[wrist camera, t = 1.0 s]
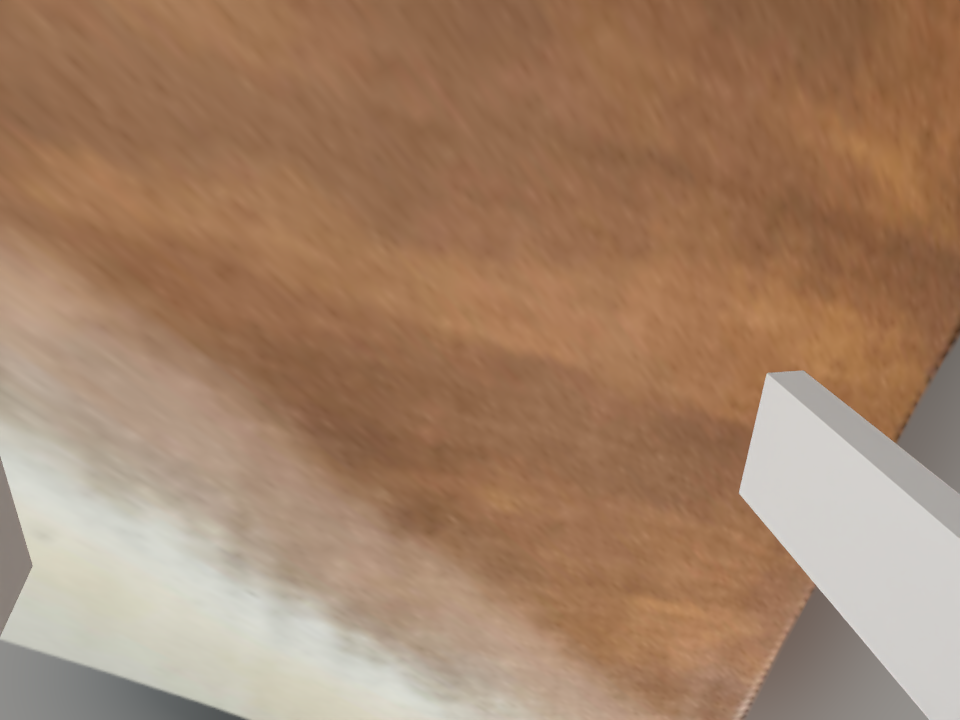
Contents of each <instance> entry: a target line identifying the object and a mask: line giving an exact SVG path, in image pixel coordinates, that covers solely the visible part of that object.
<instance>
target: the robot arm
mask: <svg viewBox="0 0 960 720" xmlns="http://www.w3.org/2000/svg"><path fill="white" fill-rule="evenodd" d="M739 494H740V495H741V496H742V497H743V499H744V500H745V501H746V502H747V503H748V504H749V506H750V507H751V508H752V509H753V510H754V512H755V513H756V514H757V515H758V516H759V518H760V519H761V520H762V521H763V522H764V524H765V525H766V526H767V527H768V528H769V529H770V531H771V532H772V533H773V534H774V535H775V537H776V538H777V539H778V540H779V541H780V543H781V544H782V545H783V546H784V547H785V549H786V550H787V551H788V552H789V553H790V554H791V556H792V557H793V558H794V559H795V560H796V562H797V563H798V564H799V565H800V566H801V568H802V569H803V570H804V571H805V572H806V574H807V575H808V576H809V577H810V578H811V579H812V581H813V582H814V583H815V584H816V585H817V587H818V588H819V589H820V590H821V591H822V593H823V594H824V595H825V596H826V597H827V599H828V600H829V601H830V602H831V603H832V604H833V606H834V607H835V608H836V609H837V610H838V611H839V613H840V614H841V615H842V616H843V618H844V619H845V620H846V621H847V622H848V623H849V625H850V626H851V627H852V628H853V629H854V631H855V632H856V633H857V634H858V635H859V636H860V638H861V639H862V640H863V641H864V643H865V644H866V645H867V646H868V647H869V648H870V650H871V651H872V652H873V653H874V654H875V656H876V657H877V658H878V659H879V660H880V662H881V663H882V664H883V665H884V666H885V668H886V669H887V670H888V671H889V672H890V673H891V675H892V676H893V677H894V678H895V679H896V681H897V682H898V683H899V684H900V685H901V686H902V688H903V689H904V690H905V691H906V692H907V694H908V695H909V696H910V697H911V699H912V700H913V701H914V702H915V703H916V704H917V706H919V708H920V709H921V710H922V711H923V713H924V714H925V715H926V716H927V718H928V719H929V720H960V494H959V493H957V492H956V491H955V490H954V489H952V488H951V487H950V486H949V485H947V484H946V483H945V482H944V481H942V480H941V479H940V478H938V477H937V476H936V475H935V474H933V473H932V472H931V471H930V470H928V469H927V468H926V467H925V466H923V465H922V464H921V463H920V462H918V461H917V460H916V459H915V458H913V457H912V456H911V455H909V454H908V453H907V452H906V451H904V450H903V449H902V448H901V447H899V446H898V445H897V444H896V443H894V442H893V441H892V440H891V439H889V438H888V437H887V436H885V435H884V434H883V433H882V432H880V431H879V430H878V429H877V428H875V427H874V426H873V425H872V424H870V423H869V422H868V421H867V420H865V419H864V418H863V417H861V416H860V415H859V414H858V413H856V412H855V411H854V410H853V409H851V408H850V407H849V406H848V405H846V404H845V403H844V402H842V401H841V400H840V399H839V398H837V397H836V396H835V395H834V394H832V393H831V392H830V391H829V390H827V389H826V388H825V387H824V386H822V385H821V384H820V383H818V382H817V381H816V380H815V379H813V378H812V377H811V376H810V375H808V374H807V373H806V372H805V371H790V372H776V373H767V375H766V379H765V383H764V388H763V392H762V396H761V401H760V405H759V409H758V413H757V418H756V422H755V426H754V431H753V435H752V439H751V443H750V448H749V452H748V456H747V461H746V465H745V469H744V473H743V478H742V482H741V486H740V491H739ZM31 568H32V562H31V559H30V555H29V552H28V549H27V545H26V542H25V539H24V535H23V532H22V528H21V525H20V522H19V518H18V515H17V512H16V508H15V505H14V501H13V498H12V495H11V491H10V488H9V484H8V481H7V478H6V474H5V471H4V468H3V464H2V461H1V457H0V636H1V634H2V631H3V629H4V627H5V625H6V623H7V620H8V618H9V616H10V614H11V612H12V610H13V607H14V605H15V603H16V601H17V599H18V597H19V594H20V592H21V590H22V588H23V586H24V583H25V581H26V579H27V577H28V575H29V573H30V570H31Z"/></svg>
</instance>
